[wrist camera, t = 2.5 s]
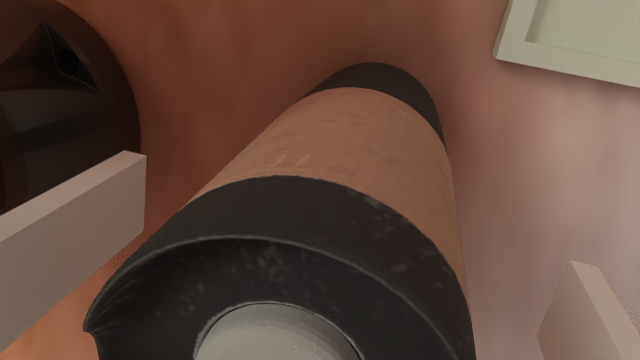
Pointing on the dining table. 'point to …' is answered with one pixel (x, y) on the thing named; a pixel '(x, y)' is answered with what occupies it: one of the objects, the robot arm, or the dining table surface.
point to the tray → (574, 37)
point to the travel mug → (308, 243)
